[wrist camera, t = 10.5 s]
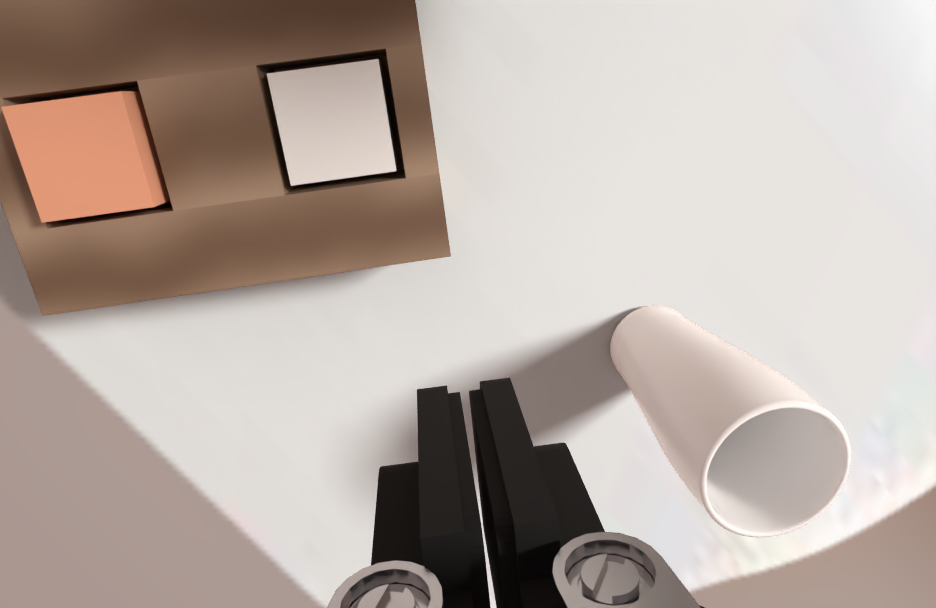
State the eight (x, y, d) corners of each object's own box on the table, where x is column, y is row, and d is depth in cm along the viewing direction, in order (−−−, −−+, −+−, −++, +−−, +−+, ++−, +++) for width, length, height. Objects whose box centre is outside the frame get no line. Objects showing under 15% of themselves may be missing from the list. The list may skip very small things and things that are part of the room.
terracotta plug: (52, 105, 30) (1, 106, 27) (156, 92, 31) (120, 91, 27) (85, 207, 32) (41, 222, 28) (184, 194, 32) (154, 207, 28)
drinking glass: (581, 376, 41) (673, 524, 27) (618, 279, 39) (738, 383, 25) (675, 399, 42) (811, 553, 28) (715, 306, 40) (883, 420, 26)
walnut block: (12, 17, 32) (-74, -1, 26) (407, -32, 32) (406, -59, 27) (100, 281, 36) (42, 315, 30) (444, 231, 37) (450, 256, 31)
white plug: (283, 76, 32) (266, 73, 28) (381, 63, 32) (378, 58, 28) (304, 175, 33) (291, 185, 30) (397, 162, 34) (396, 171, 30)
